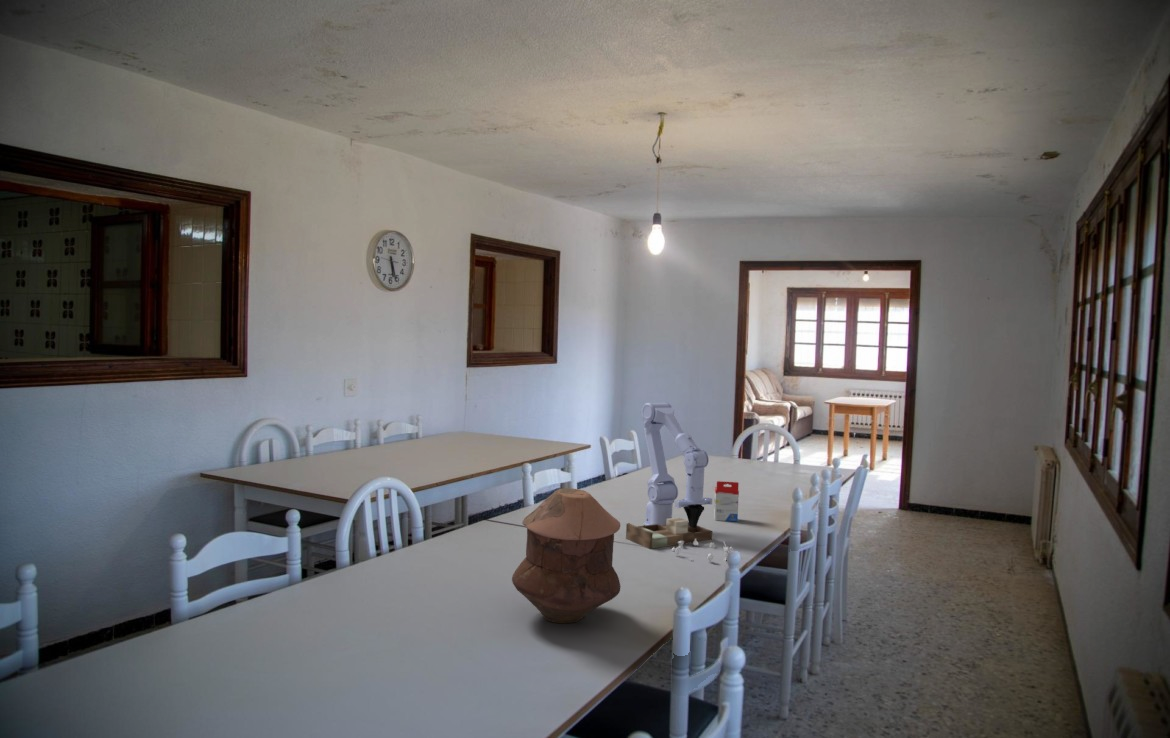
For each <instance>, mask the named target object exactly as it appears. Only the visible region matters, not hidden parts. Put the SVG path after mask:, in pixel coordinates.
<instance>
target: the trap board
mask: <svg viewBox="0 0 1170 738" xmlns="http://www.w3.org/2000/svg"><path fill="white" fill-rule="evenodd" d="M625 539H626V540H629V541H631V542H632V543H635V544H638V545H640V546H643V547H644V548H647V549H649V550H650V549H658V548H664V547H665V548H666V547H670V546H673V547H674V546H679V543H678V541H684V543H683V545H687V544H693V542H694V541H695V539H696V541H697V542H698V543H701V542H707V541H713V530H711V529H707V528H705V527H702V526H699V525H697V526H696V528H692V527H689V521H688V533H683V534H673V533H671V532H668V531H666V525H659V524H653V525H634V524H633V523H630V522H628V523H626V529H625Z"/></svg>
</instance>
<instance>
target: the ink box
mask: <svg viewBox="0 0 1170 738" xmlns="http://www.w3.org/2000/svg"><path fill="white" fill-rule="evenodd" d="M739 484H740V483H739V482H737V481H722V480H721V481H720V480H718V481H716V487H714V504H713V505H714V506H713V519H714V521H722V522H737V523H738V520H739V517H738V516H739V515H738V513H739V495H740V494H739V493H740V490H739ZM724 485H725V486H724ZM727 485H728V486H727Z"/></svg>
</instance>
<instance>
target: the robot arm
mask: <svg viewBox="0 0 1170 738" xmlns="http://www.w3.org/2000/svg"><path fill="white" fill-rule="evenodd" d="M640 414H641V420H642V426H643V432H644V436H645V443H646V447H647V448H646V449H647V452H648V458H649V465H650V468H651V469H650V470H651V475H652V476H651V477H650V478H649V480H648V481H647V483H646V484H647V497H648V500H649V501H648V502H647V504H646V507H645V521H644V522H643V523H642V524H643V525H642V526H644V525H653V524H659V525H666V521H667V519H669V518H673V505H674V507H675V508H677V509H682V508H683V510H684V512H685V514H686V516H687V521H688V522H689V527H692V528H696V526H698V523H699V520H700V517H701V515H702V513H703V512H704V511H705V506H706V505H713V498H712V497H704V486H705V485H704V481H705V468H707V466H708V464H709V455H708V453H707V452H706V451H705V450H704V449H701V448H699V447H698V445H697V443H696V442H695V441H694V440H693V437H692V436H691V434H689V433H687V432H686V433H685V432H684V430H683V428H682V427H681V425H680V423H679V422H678V420H677V418H676V416H675V409H674V407H673V406H672V404H671V403H670V402H667V401H665V402H645V403H644V404H643V406H642V408H641V411H640ZM664 426H665V427H666V428H667V429H668V431H669V432H670V433H671V435H672V436H673V437H674V438H675V440H674V443H675V444H674V445H675V446H676V447H677V449H678V450H679V452H680V453H681V455H682V456H683V464H684V468H685V473H686V481H685V485H686V487H685V498H684V499H678V500H676V499H677V498H678V496H679V488H678V486H677V484H676V482H675V479H674V477H673V476H672V475H670V474H669V473H668V468H667V463H666V457H665V453H664V452H665V451H664V448H663V443H662V441H663V440H662V436H661V429H662V427H664ZM703 505H705V506H703Z"/></svg>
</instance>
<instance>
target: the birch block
mask: <svg viewBox="0 0 1170 738" xmlns="http://www.w3.org/2000/svg"><path fill="white" fill-rule="evenodd" d="M688 522H689V521H688V519H687V520H686V519H684V518H681V517H672V518H669V519H667V521H666V531H668V532H671V533H673V534H683V533H688Z"/></svg>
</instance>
